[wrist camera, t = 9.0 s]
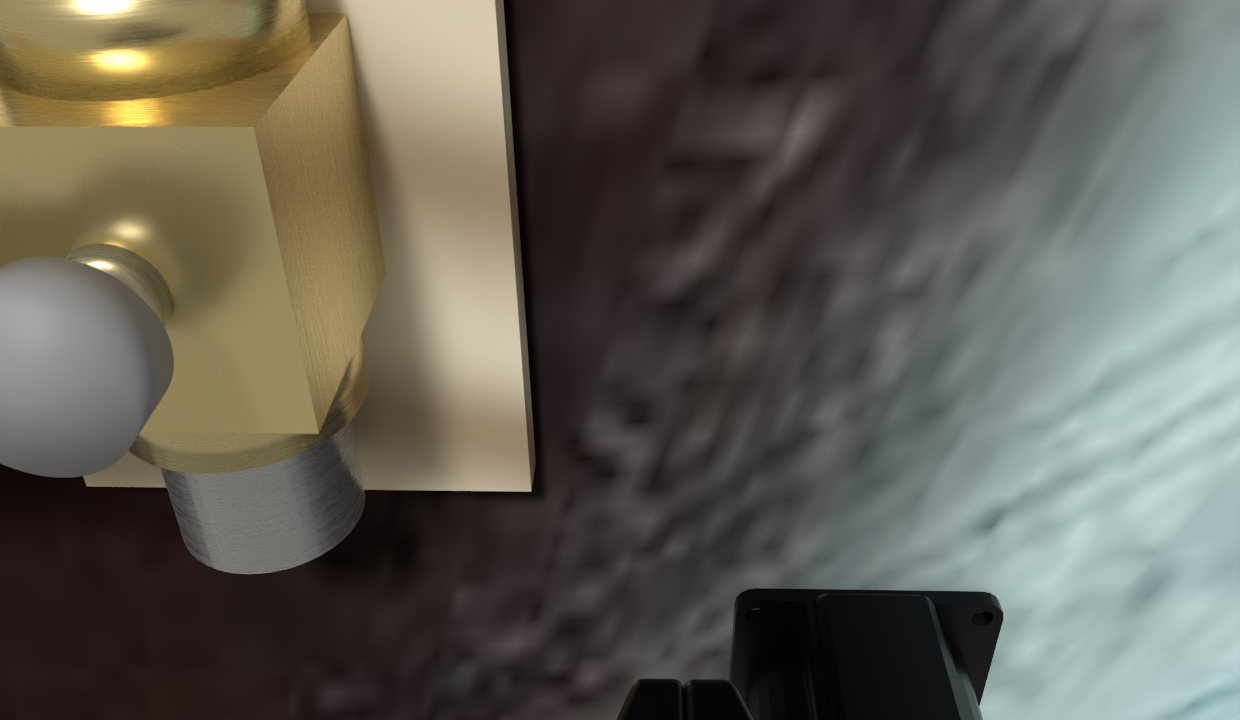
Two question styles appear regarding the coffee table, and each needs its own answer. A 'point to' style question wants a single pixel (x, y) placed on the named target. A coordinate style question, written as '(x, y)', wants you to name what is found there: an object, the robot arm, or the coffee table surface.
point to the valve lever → (75, 367)
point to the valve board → (434, 255)
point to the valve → (212, 240)
